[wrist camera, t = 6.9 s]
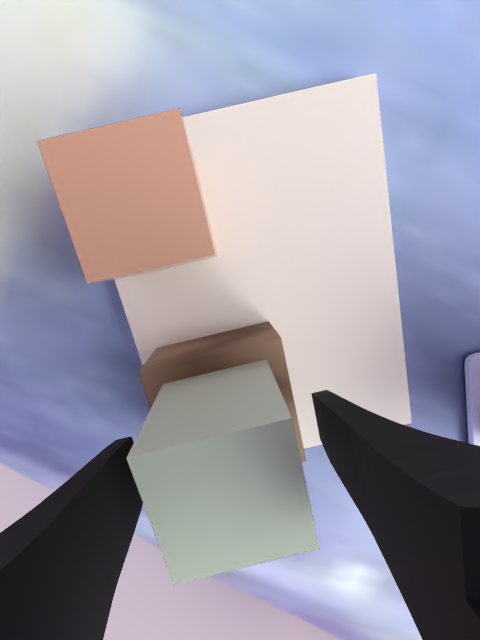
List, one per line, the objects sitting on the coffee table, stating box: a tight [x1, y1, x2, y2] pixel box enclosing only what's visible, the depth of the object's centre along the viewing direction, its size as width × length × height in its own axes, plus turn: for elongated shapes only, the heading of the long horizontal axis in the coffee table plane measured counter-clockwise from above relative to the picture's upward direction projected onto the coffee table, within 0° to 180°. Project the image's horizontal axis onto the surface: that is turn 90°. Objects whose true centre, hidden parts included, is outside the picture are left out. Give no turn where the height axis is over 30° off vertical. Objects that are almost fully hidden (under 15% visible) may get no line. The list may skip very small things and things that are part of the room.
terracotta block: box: [37, 108, 218, 284], centre depth 11 cm, size 4×4×4 cm
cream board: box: [115, 73, 412, 449], centre depth 15 cm, size 14×18×1 cm
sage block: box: [127, 359, 320, 585], centre depth 10 cm, size 4×4×4 cm
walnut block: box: [139, 321, 306, 462], centre depth 13 cm, size 6×6×3 cm
